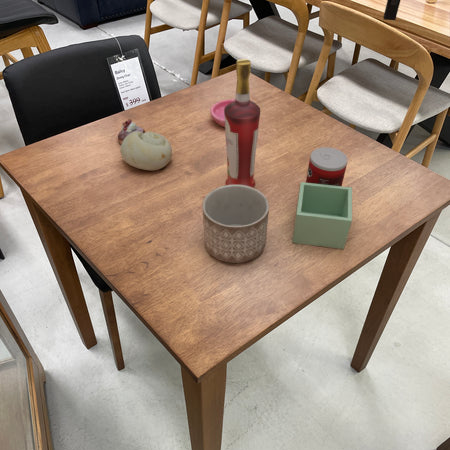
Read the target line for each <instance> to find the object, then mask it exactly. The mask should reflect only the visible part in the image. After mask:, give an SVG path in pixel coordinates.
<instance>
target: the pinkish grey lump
mask: <svg viewBox="0 0 450 450" xmlns="http://www.w3.org/2000/svg"><path fill="white" fill-rule="evenodd" d="M136 131H139V132H142V133H146V132H147V131H146V130H145V129H144V128H143V127H141V126H138V125H137V123H135V122H134V121H132V119H131V118H128V119H127V120H125V121H124V122H122V125H121V130H120V131H119V132H118V134H117V142H118V144H119V145H121V144H122V142H123V140H124V139H125V137H126V136H127V135H129V134H130V133H132V132H136Z"/></svg>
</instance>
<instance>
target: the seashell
mask: <svg viewBox="0 0 450 450" xmlns="http://www.w3.org/2000/svg"><path fill="white" fill-rule="evenodd" d="M145 132H146V133H142V132H139V131H136V132H132V133H130V134H129V135H127V136H126V137H125V139H124V140H123V142H122V144H120V149H119V150H120V151H119V152H120V156H121V158H122V160H123V161H124V162H125V163H126V164H127V165H129V166H132V167H134V168H136V169H139V170H144V171H158V170H160V169H163V168H164V167H166V166H167V165H168V164H169V163H170V161H171V159H172V155H173V149H172V145H171V143H170V141H169V140H168V139H167V138H166V137H165V136H164V135H162V134H160V133H158V132H153V131H145Z"/></svg>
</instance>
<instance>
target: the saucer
mask: <svg viewBox="0 0 450 450" xmlns="http://www.w3.org/2000/svg"><path fill="white" fill-rule="evenodd" d="M232 101H235V99H233V98H231V99H222V100H220V101H217V102H216V103H214V104H213V105H212V106H211V107H210V111H209V112H210V116H211V118H212V119H213V121H214V122H216V124H217V125H219V127H221V128H225V115H224V108H225V107H226V106H227V105H228V104H229V103H231V102H232Z"/></svg>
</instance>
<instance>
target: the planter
mask: <svg viewBox="0 0 450 450" xmlns="http://www.w3.org/2000/svg"><path fill="white" fill-rule="evenodd" d="M201 205H202V206H201V207H202V208H201V209H202V224H203V225H202V226H203V227H202V228H203V242H204V246H205V249H206V250H207V252H208V253H209V254H210V255H211V256H212V257H214V258H215V259H217V260H219V261H222V262H226V263H232V264H239V263H245V262H246V263H247V262H248V261H252V260H254V259H256V258H257V257H258V256H260V255H261V254H262V252H263V251H264V249H265V247H266V244H267V234H268V223H269V216H270V215H269V214H270V213H269V212H270V202H269V199H268V198H267V196H266V194H264V193H263V192H262V191H261V190H258V189H257V188H255V187H250V186H246V185H235V184H234V185H226V184H225V185H221V186H218V187H215V188H214V189H212V190H211V191H210V192H208V193H207V194H206V195H205V196H204V198H203V201H202V204H201Z"/></svg>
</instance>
